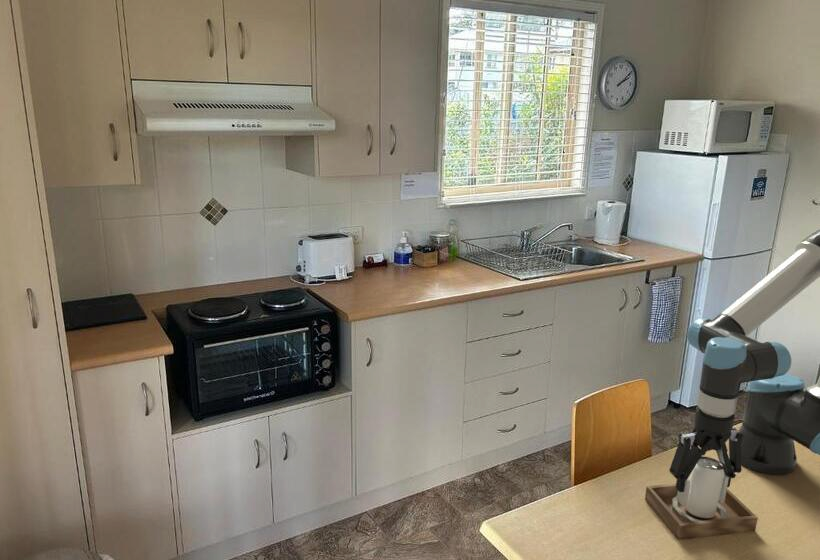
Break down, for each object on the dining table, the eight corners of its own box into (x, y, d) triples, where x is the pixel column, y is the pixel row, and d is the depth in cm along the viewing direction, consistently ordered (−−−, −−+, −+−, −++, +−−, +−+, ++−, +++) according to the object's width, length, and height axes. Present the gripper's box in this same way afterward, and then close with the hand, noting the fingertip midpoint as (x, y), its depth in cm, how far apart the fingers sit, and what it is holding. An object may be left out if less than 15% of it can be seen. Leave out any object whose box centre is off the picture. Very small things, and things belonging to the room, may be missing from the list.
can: (687, 516, 140) (698, 467, 137) (680, 500, 146) (691, 453, 143) (718, 522, 139) (730, 473, 136) (710, 505, 145) (721, 458, 142)
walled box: (715, 492, 151) (717, 479, 150) (755, 531, 138) (757, 517, 137) (644, 499, 148) (646, 486, 147) (678, 539, 135) (680, 525, 134)
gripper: (748, 398, 140) (732, 486, 147) (659, 404, 137) (647, 495, 144) (772, 414, 133) (754, 507, 140) (679, 421, 130) (665, 516, 136)
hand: (700, 500), depth 142 cm, fingers open, 8 cm apart
